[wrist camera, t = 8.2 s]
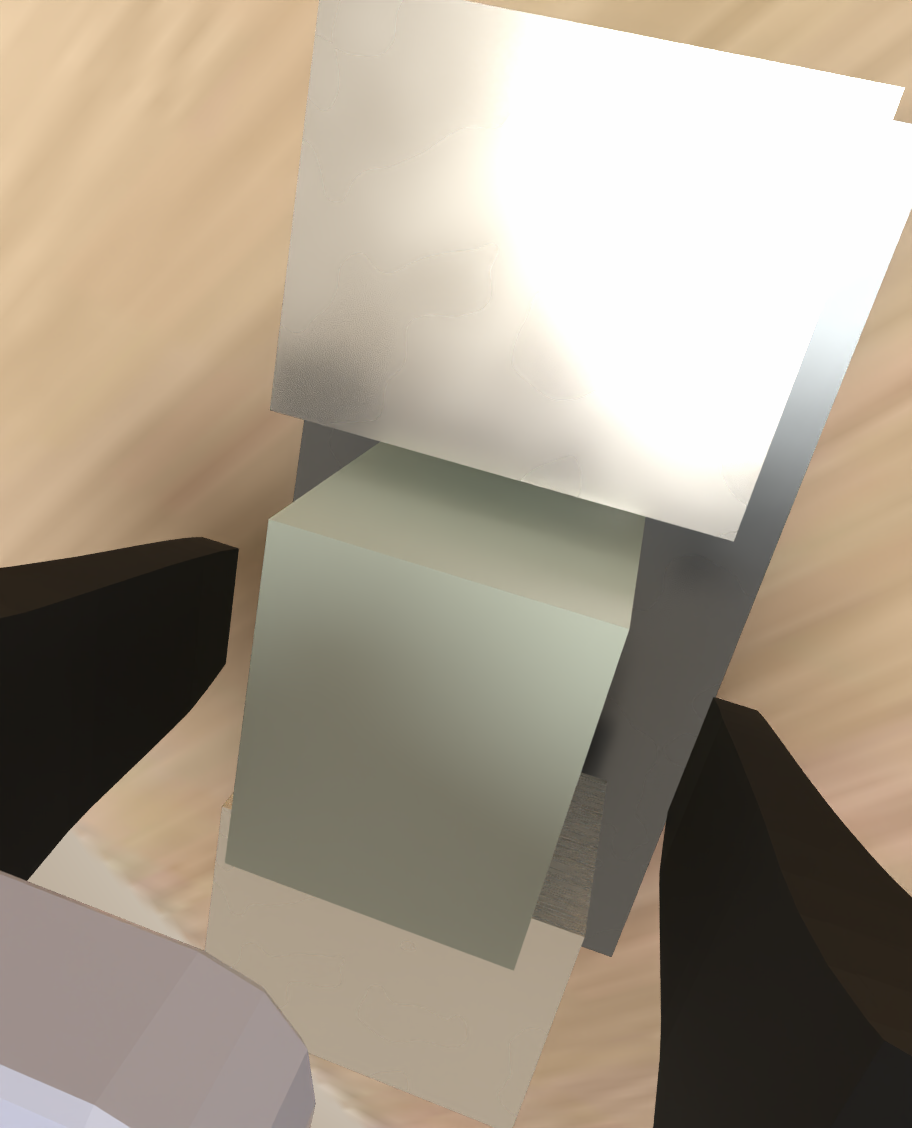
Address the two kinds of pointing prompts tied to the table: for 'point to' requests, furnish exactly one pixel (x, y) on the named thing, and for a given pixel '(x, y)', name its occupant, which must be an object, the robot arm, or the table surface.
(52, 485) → the table surface
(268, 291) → the table surface
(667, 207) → the rail board
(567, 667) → the block
